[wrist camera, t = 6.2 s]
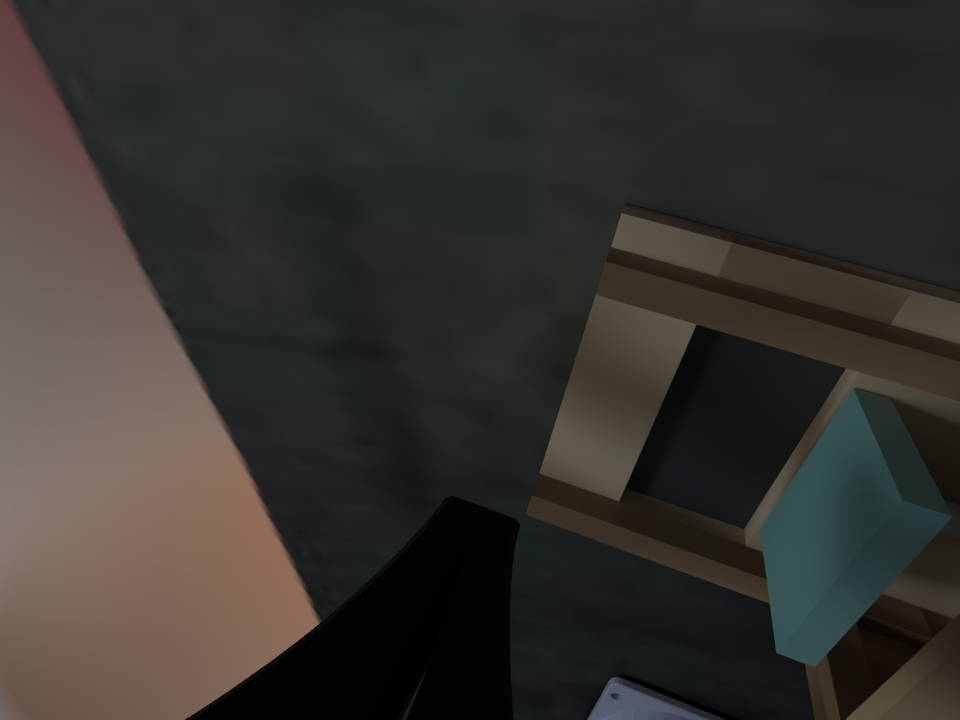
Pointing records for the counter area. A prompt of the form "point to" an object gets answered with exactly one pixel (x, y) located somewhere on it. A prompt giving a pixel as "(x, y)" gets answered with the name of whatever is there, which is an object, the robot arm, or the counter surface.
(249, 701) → the robot arm
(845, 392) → the tunnel board
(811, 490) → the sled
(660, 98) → the counter surface
